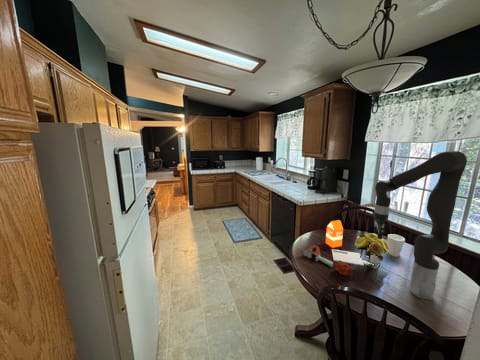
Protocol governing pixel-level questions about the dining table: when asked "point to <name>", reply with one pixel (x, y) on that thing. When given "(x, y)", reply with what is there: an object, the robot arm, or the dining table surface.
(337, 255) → the paper sheet
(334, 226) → the orange juice
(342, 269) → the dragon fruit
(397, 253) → the foam cup
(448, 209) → the robot arm
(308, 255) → the tape dispenser
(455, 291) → the dining table surface
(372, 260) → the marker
